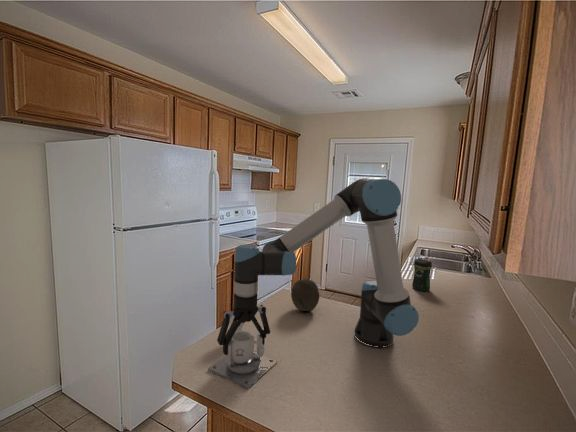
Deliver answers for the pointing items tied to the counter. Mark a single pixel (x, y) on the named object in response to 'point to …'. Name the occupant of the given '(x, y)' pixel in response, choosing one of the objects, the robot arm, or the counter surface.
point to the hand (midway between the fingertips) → (244, 358)
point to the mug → (243, 347)
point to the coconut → (305, 295)
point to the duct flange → (239, 371)
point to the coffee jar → (422, 275)
